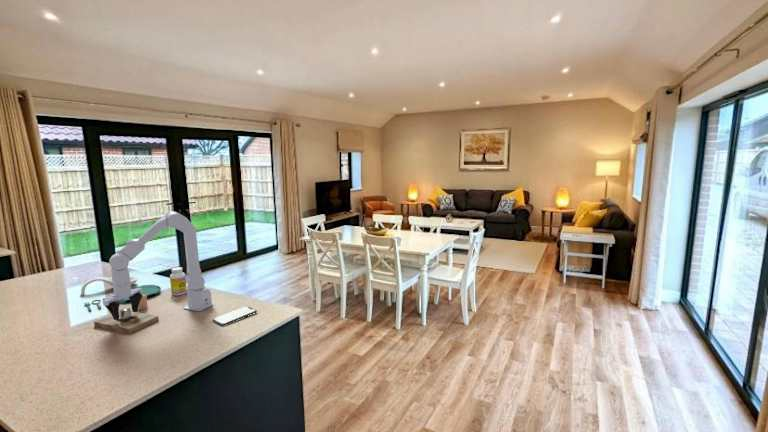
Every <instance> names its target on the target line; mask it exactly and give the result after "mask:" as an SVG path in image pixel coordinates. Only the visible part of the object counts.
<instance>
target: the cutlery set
mask: <svg viewBox="0 0 768 432" xmlns="http://www.w3.org/2000/svg"><path fill="white" fill-rule="evenodd" d="M136 288H142V293H140V294H146V297H151V296H153V295H157V294H159V293H161V289H162V288H161V286H159V285H156V284H143V285H139V286H135V287H131V290H132V289H136ZM105 299H106V298H105V297H103V298H102V301H103V300H105ZM117 302H118V304H125V303H126V302H130V299H129V297H127V298H125V299H122V300H119V301H117ZM91 303H92V305H97V308H98V309H99V310H101V309H102V306H101V305H100V303H101V299H94V300H92V301H91ZM91 303H90V302H89V301H88V302H84V307H87V309H88V312H92V308H91V307H90V306H91Z"/></svg>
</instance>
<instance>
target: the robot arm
mask: <svg viewBox="0 0 768 432" xmlns="http://www.w3.org/2000/svg"><path fill="white" fill-rule="evenodd" d="M171 228H172V229H174V230H178V231H180V232H182V233H183V242H184V250H185V252H184V253H185V259H186V273H185V281H186V284H187V285H186V287H187V288H186V289H187V292H186V296H187V297H186V298H187V305H186V306H184V307H183V309H184V310H189V311H196V312H202V311H204V310H205V309H208V308H210V307H212V306H214V303H213V302H212V301H213V299H212V293H211V290H210V289H208V288H206V287H205V283H206V280H205V278H204V277H203V275H202V270H201V266H200V258H199V249H198V247H199V246H198V239H197V230H196V229H197V228H196V226H195V225H194V224H193V223H192V222H191V221H190V220H189V219H188V217H186V216H185V215H183V214H181V213H179V212H177V211H168V212H166V214H165V215H163V216H161V217H160V218H159V219H158V220H157V221H155V222H154V224H152V225H151V226H150V227H149V228H148V229H147V230H146V231H145V232H144V233H143V234H142V235H140V236H139V237H138V238H135V239H134V238H133V239H131V240H127V241H126V244H125V245H124V246H123V247H122V248H120V249H119V250H117V251H116V253H114V254H112V255H111V257H109V260H108V262H109V265H110V267H111V271H110V272H111V277H112V282H113V286H112V288H113V289H112V290H113V295H111V296H110V297H107V298H105V300H103V299H102V305H103V306H104V307H105V308H106V309H107V310H108V311H109V313H110V315H112V316H113V319H114V320H119V312H120V310H119V309H120V304H121V303H117V302H118V301H119V300H122V299H125V298H127V297H129V299H130V301H129V302H130V306H131V310H132V311H133V312H138V313H139V309H138V307H139V303H140V300H141V298H142V294H140V293H142V288H136V289H132V290H131V288H132V286H131V282H130V277H131V276H130V270H129V267H128V266H129V263H130V262H131V261H133V260H134V259H135V258H136V257H137V256H138V255H139V254H140V253H142V252H143V251H144V250H145V249H146V247H145V246H146V244H147V243H149V241H151V240H152V239H153V238H155V236H156V235H158V234H159V233H161V232H162V231H163V232H164V231H168V230H170V229H171Z"/></svg>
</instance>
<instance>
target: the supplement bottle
mask: <svg viewBox="0 0 768 432" xmlns="http://www.w3.org/2000/svg"><path fill="white" fill-rule="evenodd" d="M185 276H186V273H185V272H183V267H181V266H177V267H173V268H171V274H170V275H169V279H170V281H169V282H170V290H171V291H170V293H171V295H172V296H176V297H177V296H183V295H185V294H187V289H186V288H187V282H186V281H185Z"/></svg>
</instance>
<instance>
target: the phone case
mask: <svg viewBox="0 0 768 432" xmlns="http://www.w3.org/2000/svg"><path fill="white" fill-rule="evenodd" d="M256 312H257V310H256V309H255V308H253V307H250V306H247V305H246V306H243V307H240V308H237V309H234V310H232V311H229V312H227V313H224V314H221V315H218V316H217V317H214V318H213V319H212V322H213V323H214V322H215V323H214V324H216V323H217V324H216V325H218V324H219V325H218V326H220V325H222V326H221V327H224V326H223V325H226V324H228V325H230V324H229V323H231V322H233V321H236V320H238V319H241V318H243V317H246V316H248V315H250V314H253V313H256ZM256 314H257V313H256ZM246 318H247V317H246ZM241 320H242V319H241ZM236 322H237V321H236ZM231 324H232V323H231ZM226 326H227V325H226Z"/></svg>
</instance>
